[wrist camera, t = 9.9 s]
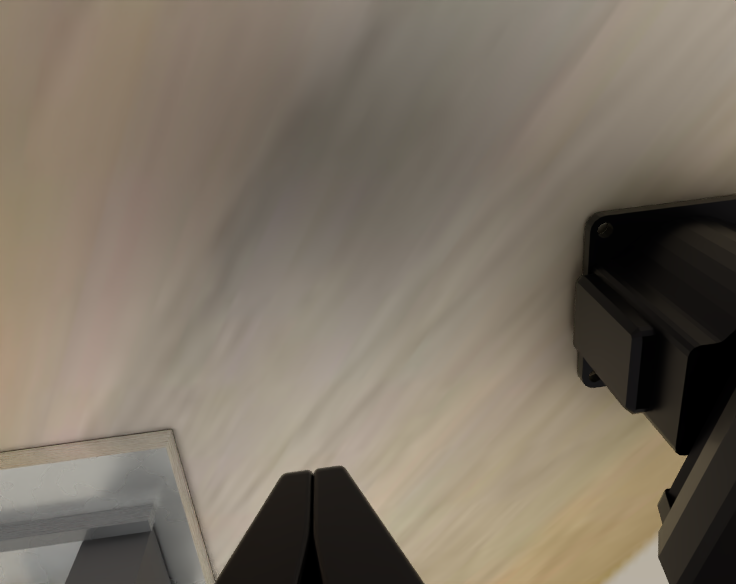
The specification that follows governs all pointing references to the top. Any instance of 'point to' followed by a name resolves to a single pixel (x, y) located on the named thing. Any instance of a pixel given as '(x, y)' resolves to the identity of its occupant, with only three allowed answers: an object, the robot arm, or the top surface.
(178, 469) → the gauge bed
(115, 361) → the top surface
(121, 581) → the block with white pegs
